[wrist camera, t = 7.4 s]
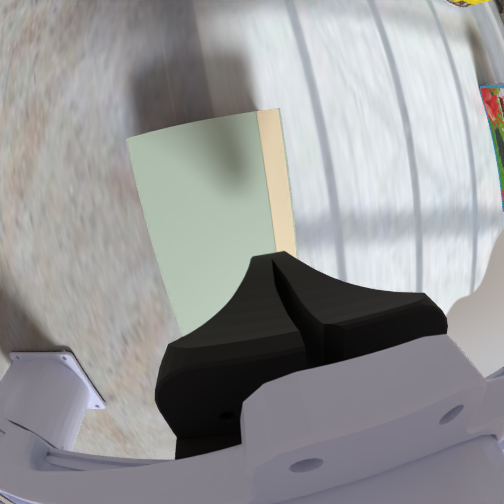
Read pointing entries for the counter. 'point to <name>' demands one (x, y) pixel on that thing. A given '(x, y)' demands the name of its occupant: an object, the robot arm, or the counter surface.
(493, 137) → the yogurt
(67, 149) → the counter surface
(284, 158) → the lid
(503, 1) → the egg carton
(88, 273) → the counter surface
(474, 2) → the supplement bottle
